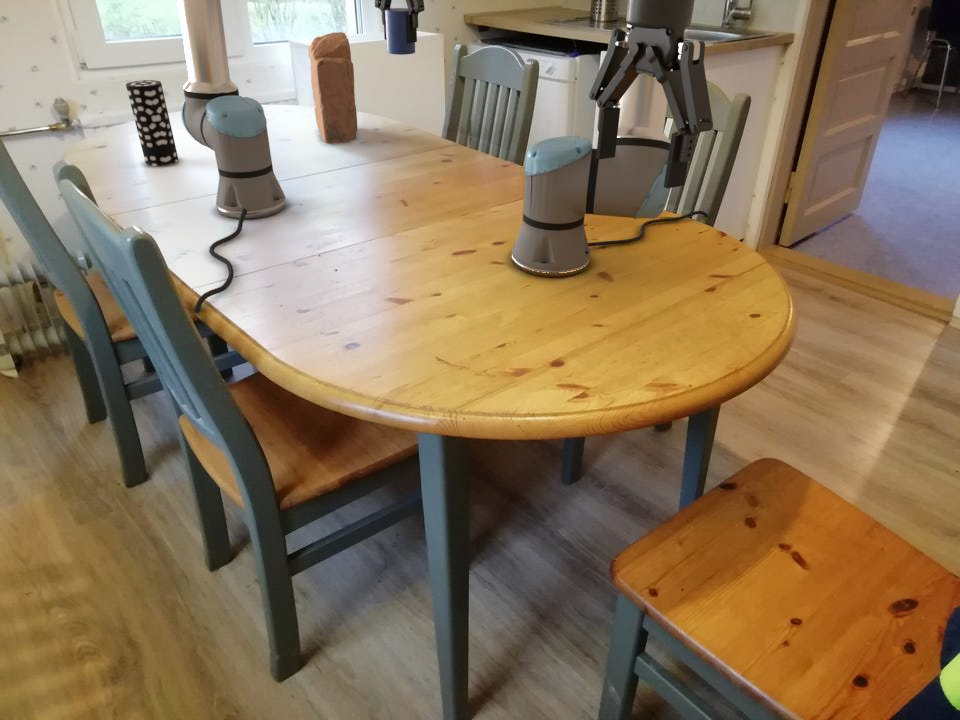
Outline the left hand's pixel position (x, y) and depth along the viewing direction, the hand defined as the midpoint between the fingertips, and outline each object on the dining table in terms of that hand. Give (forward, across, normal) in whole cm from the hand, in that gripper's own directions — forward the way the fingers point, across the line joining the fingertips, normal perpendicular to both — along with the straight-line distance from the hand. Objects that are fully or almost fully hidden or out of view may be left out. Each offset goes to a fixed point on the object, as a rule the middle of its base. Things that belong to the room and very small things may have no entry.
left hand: (400, 40), depth 178 cm
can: (+3, 0, 0) cm, 3 cm away
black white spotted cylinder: (+20, +47, +46) cm, 69 cm away
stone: (+30, +30, -3) cm, 43 cm away
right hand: (+1, -96, +60) cm, 113 cm away
